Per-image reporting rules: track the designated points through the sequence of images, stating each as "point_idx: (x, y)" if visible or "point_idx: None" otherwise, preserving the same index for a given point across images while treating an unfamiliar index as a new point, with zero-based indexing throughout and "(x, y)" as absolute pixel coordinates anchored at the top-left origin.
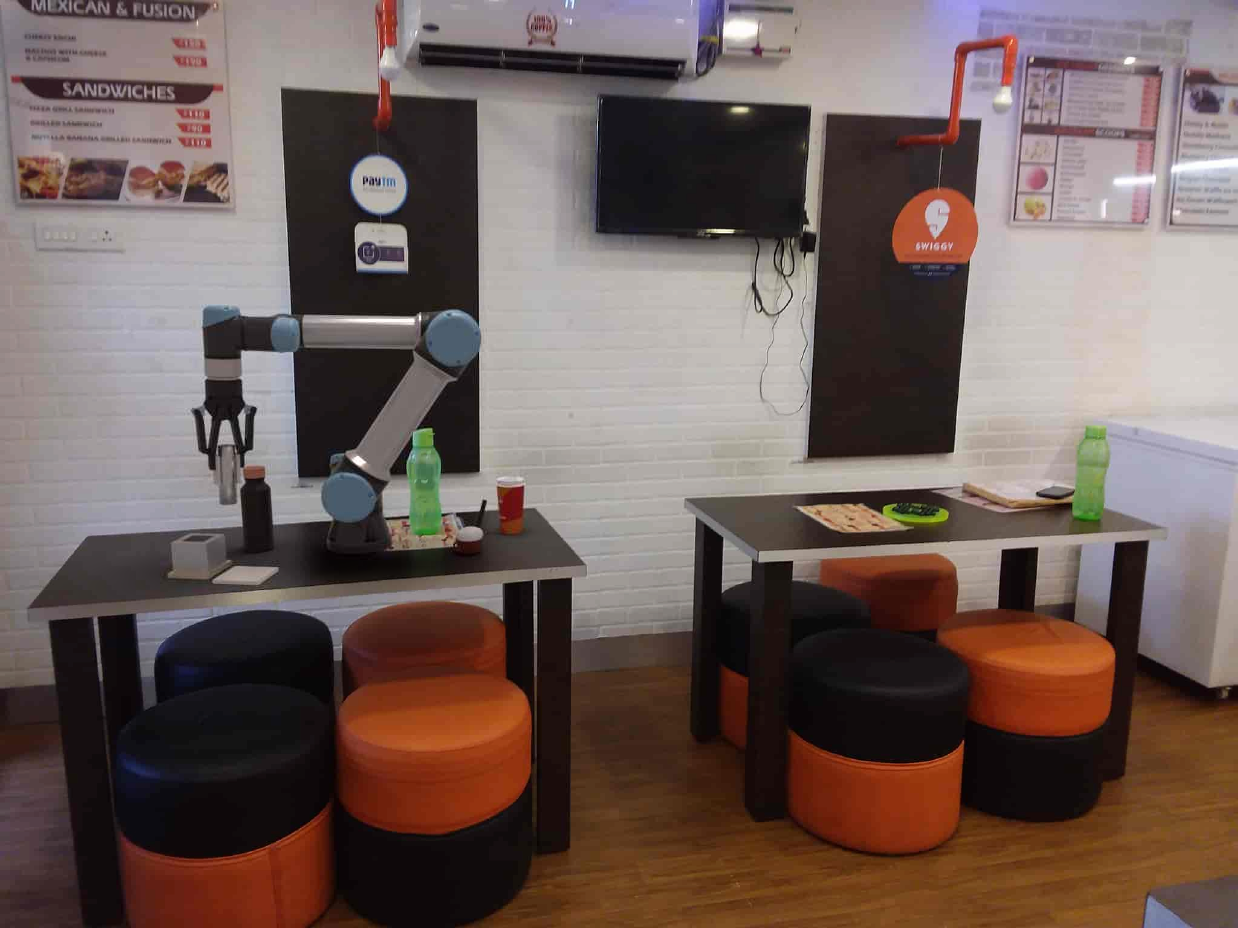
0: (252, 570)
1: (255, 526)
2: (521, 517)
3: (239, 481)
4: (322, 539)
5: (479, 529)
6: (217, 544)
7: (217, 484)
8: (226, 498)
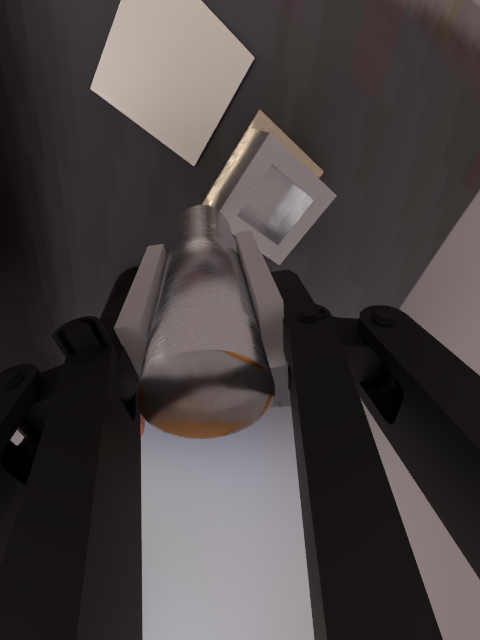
0: (156, 96)
1: None
2: None
3: (152, 248)
4: (19, 306)
5: None
6: (232, 184)
7: (250, 231)
8: (211, 213)
